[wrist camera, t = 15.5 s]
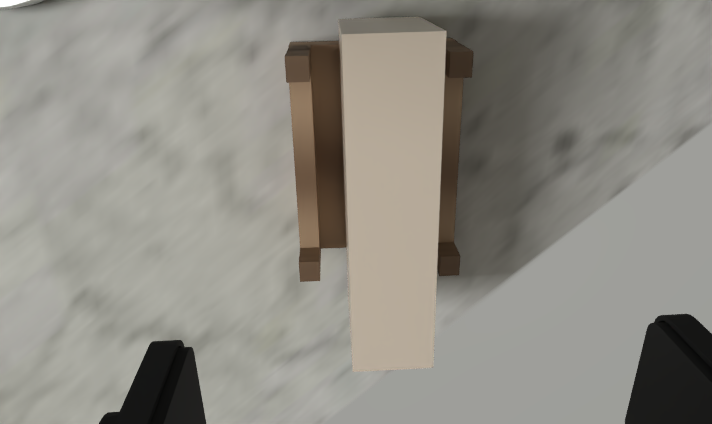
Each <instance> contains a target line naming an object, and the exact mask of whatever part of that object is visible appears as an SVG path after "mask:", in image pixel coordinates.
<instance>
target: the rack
mask: <svg viewBox="0 0 712 424" xmlns="http://www.w3.org/2000/svg"><path fill="white" fill-rule="evenodd" d="M472 66H473V51H472V50H470V49H469V48H467V47H465V46H463V45H462V44H460V43H458V42H457V41H456V40H454V39H452V38H446V58H445V83H444V108H443V134H442V159H441V184H440V209H439V235H438V260H437V270H438V273H439V276H451V275H459V268H460V254H459V252H458V250H457V248H456V246H455V244H454V230H455V213H456V196H457V179H458V162H459V145H460V128H461V111H462V94H463V78H469V77H472ZM285 68H286V82H287V83H289V86H290V101H291V116H292V131H293V146H294V161H295V176H296V191H297V206H298V221H299V236H300V257H299V271H300V282H304V281H320V260H321V248H344V247H346V222H345V194H344V166H343V138H342V110H341V82H340V53H339V41H319V42H290V44H289V48H288V51H287V53H286V55H285Z"/></svg>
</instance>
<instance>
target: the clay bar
mask: <svg viewBox="0 0 712 424" xmlns="http://www.w3.org/2000/svg"><path fill="white" fill-rule="evenodd" d="M338 25H339V53H340V82H341V110H342V138H343V166H344V194H345V222H346V250H347V279H348V302H349V318H350V334H351V350H352V366H353V372H360V371H379V370H398V369H418V368H433V360H434V336H435V310H436V285H437V260H438V235H439V209H440V184H441V159H442V134H443V108H444V83H445V58H446V33H447V31H446V30H444V29H442V28H440V27H438V26H436V25H434V24H432V23H430V22H429V21H427V20H425V19H423V18H421V17H387V18H354V19H338Z"/></svg>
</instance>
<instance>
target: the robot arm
mask: <svg viewBox="0 0 712 424" xmlns="http://www.w3.org/2000/svg"><path fill="white" fill-rule="evenodd" d="M41 1H44V0H0V10H1V9H13V8H18V7H23V6H28V5H33V4H37V3H39V2H41ZM99 424H206V420H205V414H204V408H203V402H202V397H201V391H200V385H199V379H198V373H197V368H196V362H195V356H194V351H193V348H192V347H184V344H183V342H182V341H181V340H173V341H153V342H151V344H150V345H149V347H148V349H147V352H146V354H145V356H144V358H143V361H142V363H141V365H140V367H139V370H138V372H137V374H136V376H135V379H134V381H133V383H132V385H131V388H130V390H129V392H128V394H127V397H126V399H125V401H124V403H123V406H122V408H121V410H120V412H110V413H107V414H105V415H104V416H103V418H102V419H101V421H100V422H99ZM625 424H712V334H711V333H710V332H709V331H708V330H707V329H706V328H705V327H704V326H703V325H702V324H701V323H700V322H699V321H697V320H696V319H695V318H694V317H693V316H691V315H689V314H677V315H661V316H658V317H657V318H656V319H655V322H654V323H651V324H650V325H649V326H648V328H647V331H646V335H645V340H644V344H643V348H642V352H641V357H640V361H639V365H638V369H637V373H636V377H635V381H634V385H633V389H632V393H631V398H630V402H629V406H628V410H627V414H626V418H625Z"/></svg>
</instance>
